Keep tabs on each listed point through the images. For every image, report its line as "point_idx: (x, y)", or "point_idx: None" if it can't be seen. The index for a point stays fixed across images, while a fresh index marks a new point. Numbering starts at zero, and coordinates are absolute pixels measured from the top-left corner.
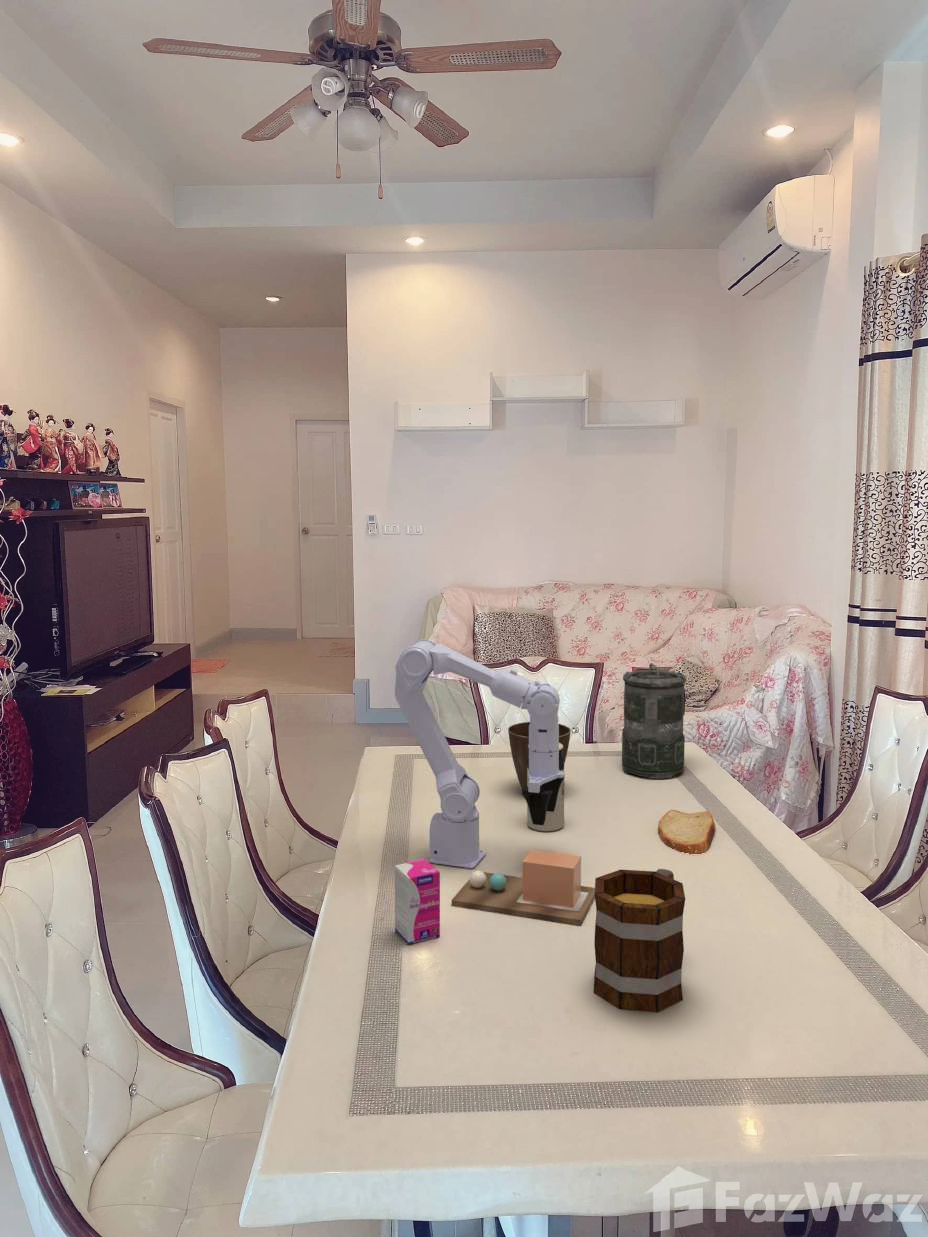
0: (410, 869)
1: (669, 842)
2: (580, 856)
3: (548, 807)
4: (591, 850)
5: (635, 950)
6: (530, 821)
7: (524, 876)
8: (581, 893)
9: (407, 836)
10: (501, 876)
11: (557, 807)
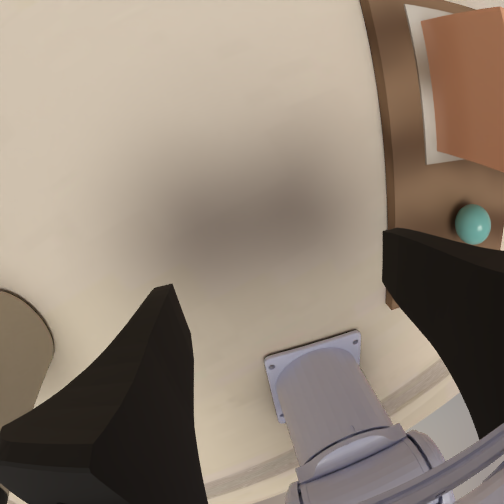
0: None
1: None
2: (502, 8)
3: (180, 325)
4: (55, 129)
5: None
6: (48, 365)
7: None
8: (417, 19)
9: (257, 466)
10: (487, 220)
11: None
